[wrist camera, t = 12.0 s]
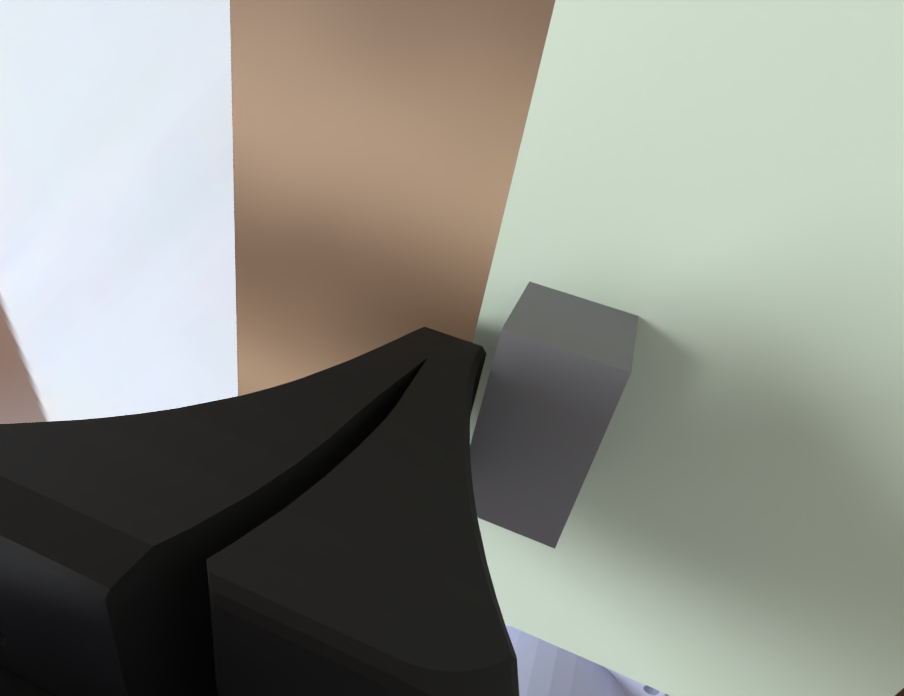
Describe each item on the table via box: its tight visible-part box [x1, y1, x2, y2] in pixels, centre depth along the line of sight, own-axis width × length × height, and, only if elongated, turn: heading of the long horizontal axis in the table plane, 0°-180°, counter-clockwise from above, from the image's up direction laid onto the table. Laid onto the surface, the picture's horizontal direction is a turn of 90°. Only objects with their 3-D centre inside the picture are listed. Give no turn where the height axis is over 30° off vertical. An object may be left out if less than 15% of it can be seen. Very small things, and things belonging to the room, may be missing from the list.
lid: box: [470, 0, 904, 696], centre depth 10 cm, size 15×10×3 cm
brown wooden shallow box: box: [230, 0, 904, 696], centre depth 13 cm, size 15×22×4 cm
